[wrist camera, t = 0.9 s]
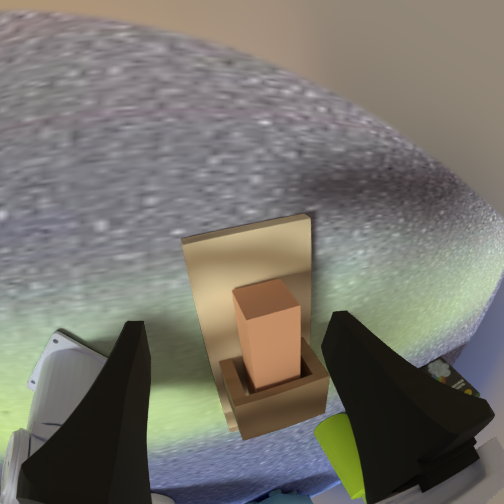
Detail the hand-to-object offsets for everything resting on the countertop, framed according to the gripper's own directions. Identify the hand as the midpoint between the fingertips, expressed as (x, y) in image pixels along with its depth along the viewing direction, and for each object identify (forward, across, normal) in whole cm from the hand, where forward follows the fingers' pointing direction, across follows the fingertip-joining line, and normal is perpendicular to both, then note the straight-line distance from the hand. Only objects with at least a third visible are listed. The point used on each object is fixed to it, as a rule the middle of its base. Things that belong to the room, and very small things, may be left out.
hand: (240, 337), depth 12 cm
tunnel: (+11, -5, +17) cm, 20 cm away
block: (+11, -5, +13) cm, 17 cm away
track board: (+12, -5, +14) cm, 19 cm away
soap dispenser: (+11, -18, +35) cm, 40 cm away
